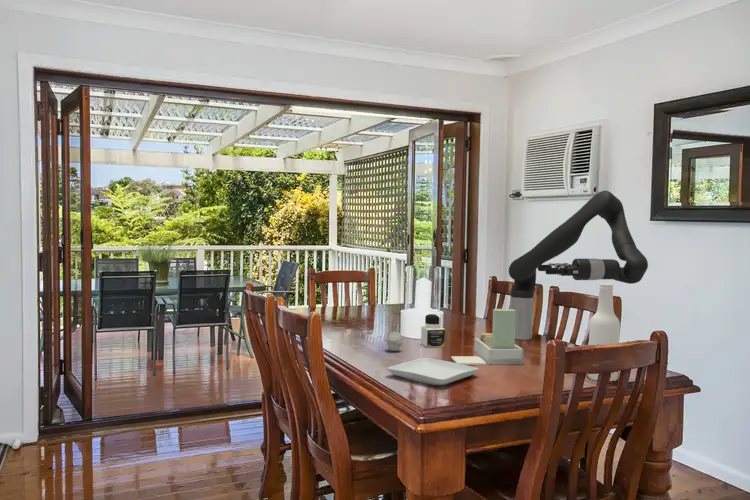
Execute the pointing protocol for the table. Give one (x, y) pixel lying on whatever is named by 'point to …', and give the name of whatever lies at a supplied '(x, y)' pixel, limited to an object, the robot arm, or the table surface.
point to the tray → (499, 354)
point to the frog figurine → (394, 341)
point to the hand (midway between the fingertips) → (541, 269)
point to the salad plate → (432, 371)
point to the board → (503, 329)
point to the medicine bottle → (432, 332)
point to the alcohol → (604, 323)
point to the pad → (469, 360)
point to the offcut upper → (486, 337)
